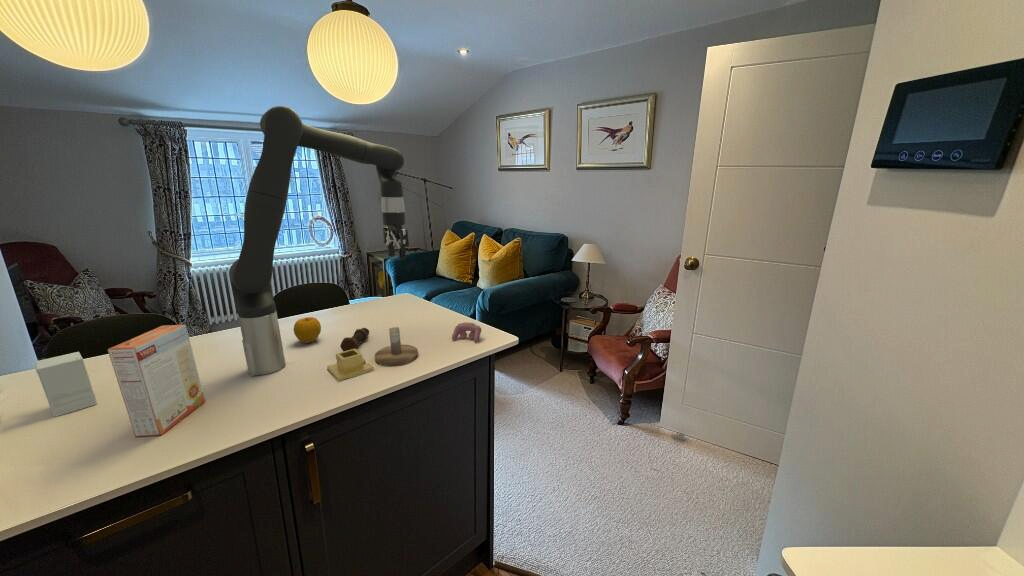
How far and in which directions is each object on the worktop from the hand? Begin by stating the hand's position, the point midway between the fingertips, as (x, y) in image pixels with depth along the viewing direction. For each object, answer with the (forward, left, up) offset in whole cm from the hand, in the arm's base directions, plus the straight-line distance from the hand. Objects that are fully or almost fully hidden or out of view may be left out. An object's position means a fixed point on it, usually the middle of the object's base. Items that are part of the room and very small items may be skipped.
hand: (397, 257), depth 135 cm
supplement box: (-83, +10, -28) cm, 89 cm away
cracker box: (-65, -14, -28) cm, 73 cm away
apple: (-28, +15, -28) cm, 43 cm away
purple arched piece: (+14, -21, -29) cm, 38 cm away
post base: (-11, -18, -28) cm, 36 cm away
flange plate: (-25, -17, -28) cm, 42 cm away
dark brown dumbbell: (-16, +1, -29) cm, 33 cm away
